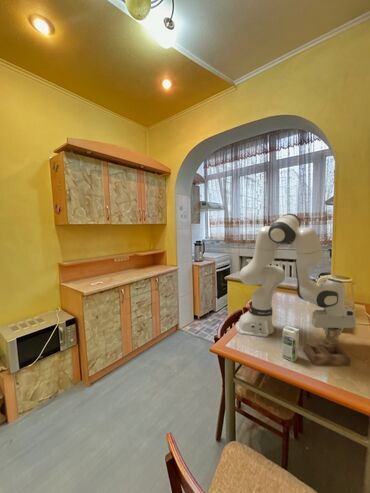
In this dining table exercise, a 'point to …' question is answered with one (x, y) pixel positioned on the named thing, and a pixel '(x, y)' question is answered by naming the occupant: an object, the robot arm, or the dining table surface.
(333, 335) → the oak peg
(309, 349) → the socket block
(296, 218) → the robot arm
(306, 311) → the dining table surface
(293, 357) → the syrup box
